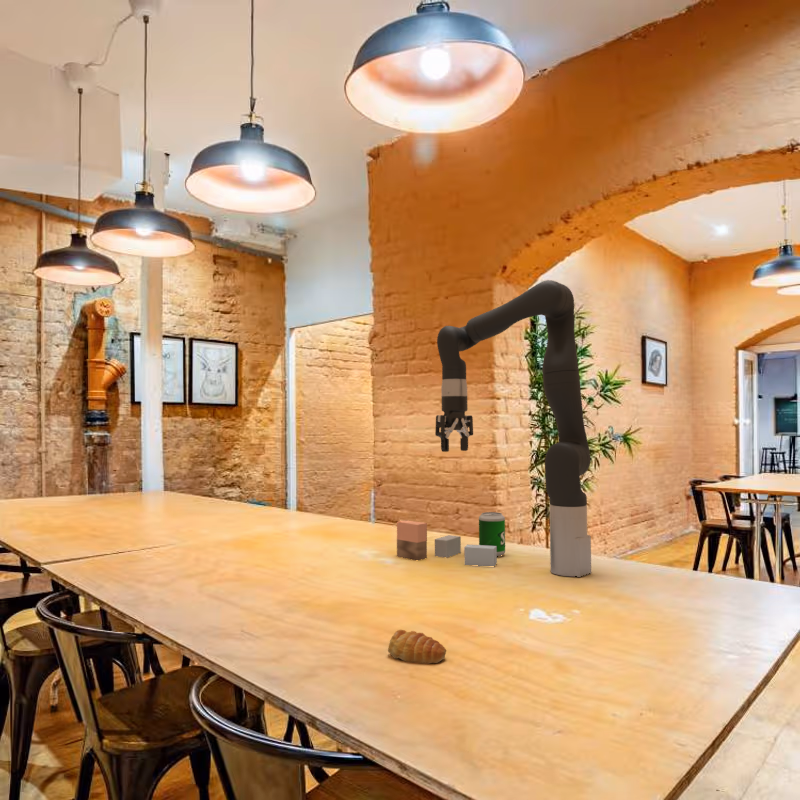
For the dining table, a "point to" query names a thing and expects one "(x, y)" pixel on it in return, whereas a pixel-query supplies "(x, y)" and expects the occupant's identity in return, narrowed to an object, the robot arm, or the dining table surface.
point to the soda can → (492, 531)
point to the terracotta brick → (412, 531)
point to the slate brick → (447, 546)
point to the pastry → (415, 647)
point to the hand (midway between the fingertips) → (454, 451)
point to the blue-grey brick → (480, 555)
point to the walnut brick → (412, 549)
